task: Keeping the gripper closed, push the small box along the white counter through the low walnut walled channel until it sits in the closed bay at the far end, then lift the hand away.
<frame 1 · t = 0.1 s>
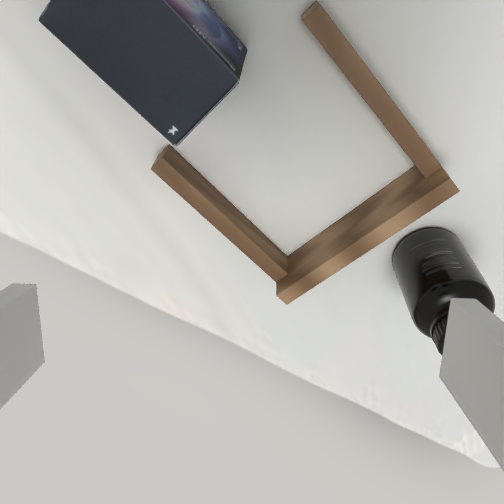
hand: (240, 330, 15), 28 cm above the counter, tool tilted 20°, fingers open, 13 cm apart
channel: (293, 154, 41), on the counter
small box: (175, 25, 35), on the counter
supplement bottle: (425, 253, 46), on the counter
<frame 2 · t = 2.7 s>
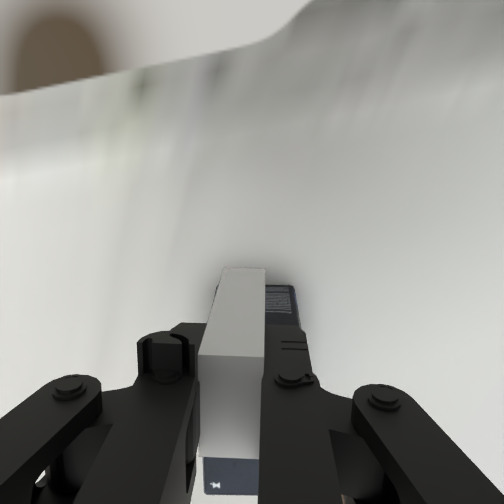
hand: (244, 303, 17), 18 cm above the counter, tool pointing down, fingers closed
small box: (256, 343, 37), on the counter
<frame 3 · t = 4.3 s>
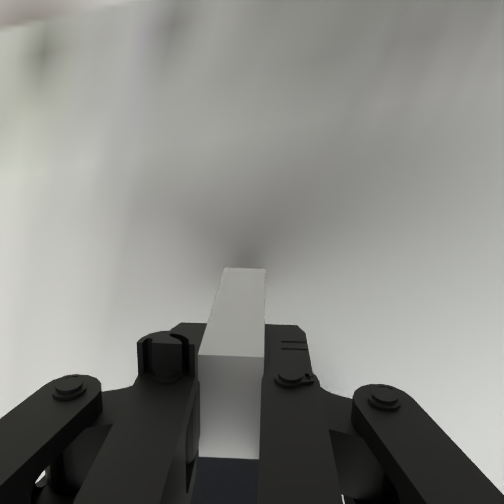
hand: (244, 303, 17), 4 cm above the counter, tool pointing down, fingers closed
small box: (245, 465, 24), on the counter
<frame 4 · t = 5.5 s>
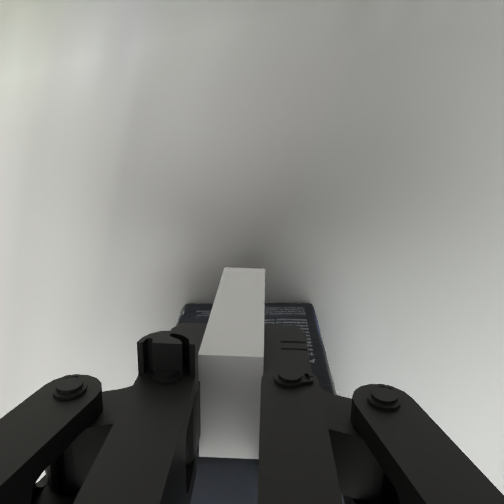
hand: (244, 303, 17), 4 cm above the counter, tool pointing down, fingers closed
small box: (253, 398, 23), on the counter, touching gripper
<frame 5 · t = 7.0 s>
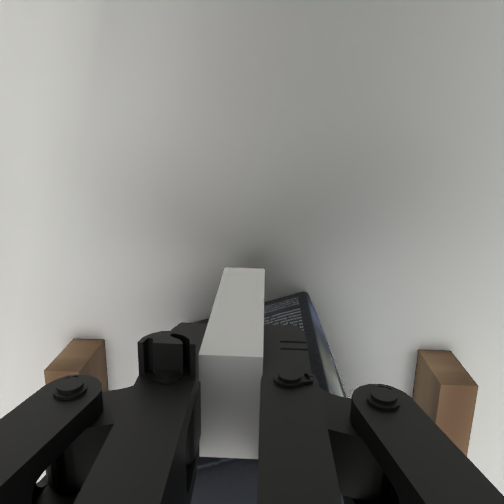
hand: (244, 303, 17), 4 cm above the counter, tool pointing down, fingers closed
channel: (256, 483, 24), on the counter
small box: (280, 398, 23), on the counter, touching gripper
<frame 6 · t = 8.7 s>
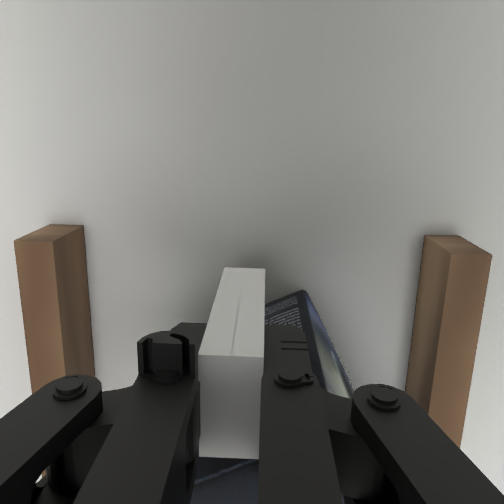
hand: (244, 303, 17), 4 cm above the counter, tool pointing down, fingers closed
channel: (248, 391, 22), on the counter
small box: (290, 399, 23), on the counter, touching gripper
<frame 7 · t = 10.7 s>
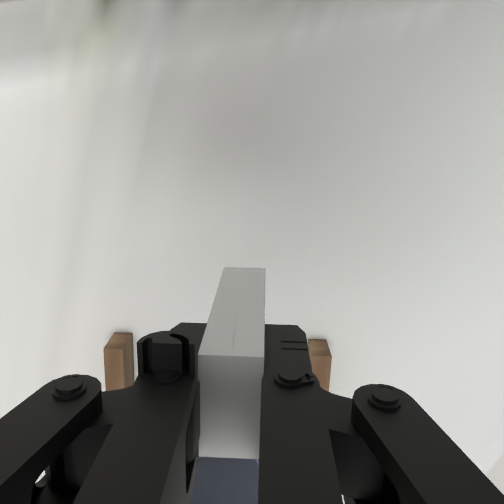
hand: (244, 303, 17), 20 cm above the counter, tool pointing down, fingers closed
channel: (219, 418, 41), on the counter
small box: (242, 422, 42), on the counter
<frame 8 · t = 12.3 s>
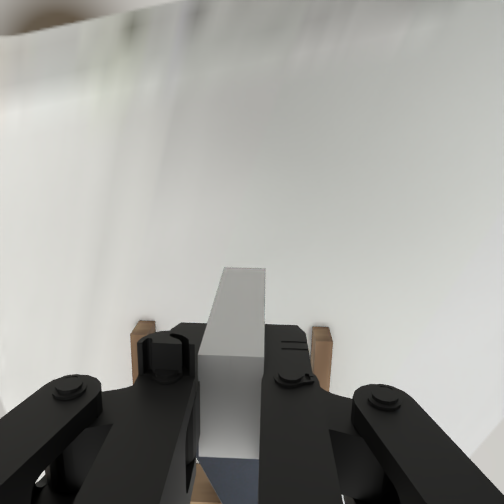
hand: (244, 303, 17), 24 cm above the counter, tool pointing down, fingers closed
channel: (232, 397, 46), on the counter
small box: (253, 401, 46), on the counter
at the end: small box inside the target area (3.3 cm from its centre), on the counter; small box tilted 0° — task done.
